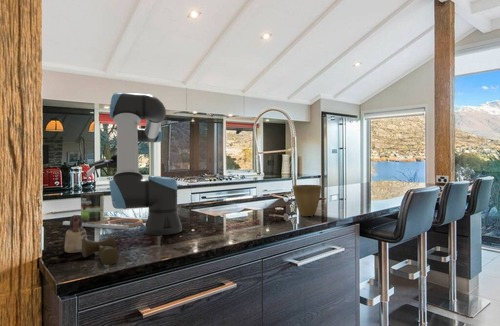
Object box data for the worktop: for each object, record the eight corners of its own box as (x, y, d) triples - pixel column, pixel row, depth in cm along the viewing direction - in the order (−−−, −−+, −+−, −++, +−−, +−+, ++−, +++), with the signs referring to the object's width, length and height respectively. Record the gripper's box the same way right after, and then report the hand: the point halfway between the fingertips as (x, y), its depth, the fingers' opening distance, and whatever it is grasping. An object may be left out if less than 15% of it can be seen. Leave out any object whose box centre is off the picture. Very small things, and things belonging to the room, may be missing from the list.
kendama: (92, 270, 97) (78, 252, 113) (127, 264, 103) (108, 248, 119) (93, 249, 97) (78, 234, 113) (127, 244, 103) (109, 231, 119)
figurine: (89, 246, 121) (88, 212, 121) (86, 251, 114) (86, 215, 114) (66, 248, 119) (66, 213, 119) (62, 253, 112) (62, 217, 112)
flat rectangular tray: (152, 221, 167) (152, 218, 167) (126, 229, 149) (126, 226, 149) (93, 218, 179) (93, 215, 179) (62, 224, 161) (62, 221, 161)
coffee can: (92, 225, 160) (91, 194, 160) (75, 223, 164) (75, 194, 164) (108, 221, 170) (108, 192, 170) (93, 219, 174) (92, 192, 174)
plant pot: (321, 213, 188) (321, 184, 188) (321, 218, 173) (320, 186, 173) (294, 212, 191) (294, 184, 191) (291, 217, 177) (291, 186, 176)
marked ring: (148, 222, 166) (148, 219, 166) (127, 228, 151) (127, 225, 151) (122, 220, 170) (122, 217, 170) (100, 226, 156) (100, 223, 156)
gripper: (142, 168, 190) (125, 188, 171) (98, 160, 191) (76, 178, 172) (142, 156, 186) (125, 175, 168) (97, 148, 187) (75, 165, 168)
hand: (100, 177), depth 170 cm, fingers open, 13 cm apart
